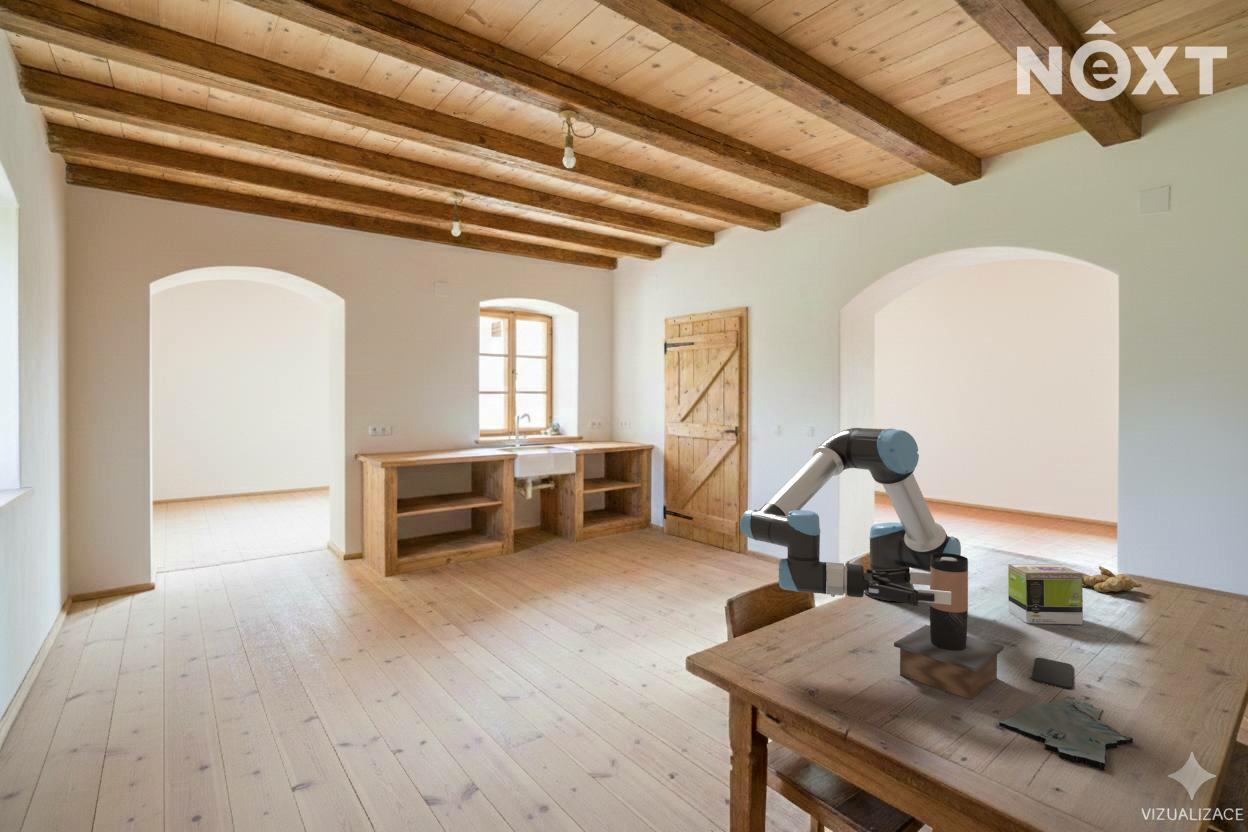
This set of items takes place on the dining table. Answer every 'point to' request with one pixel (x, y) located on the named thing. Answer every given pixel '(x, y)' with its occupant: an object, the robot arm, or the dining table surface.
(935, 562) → the travel mug
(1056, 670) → the phone
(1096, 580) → the ginger root
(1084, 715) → the decorative slab
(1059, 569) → the tea box
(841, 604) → the dining table surface
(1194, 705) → the dining table surface
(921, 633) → the podium
